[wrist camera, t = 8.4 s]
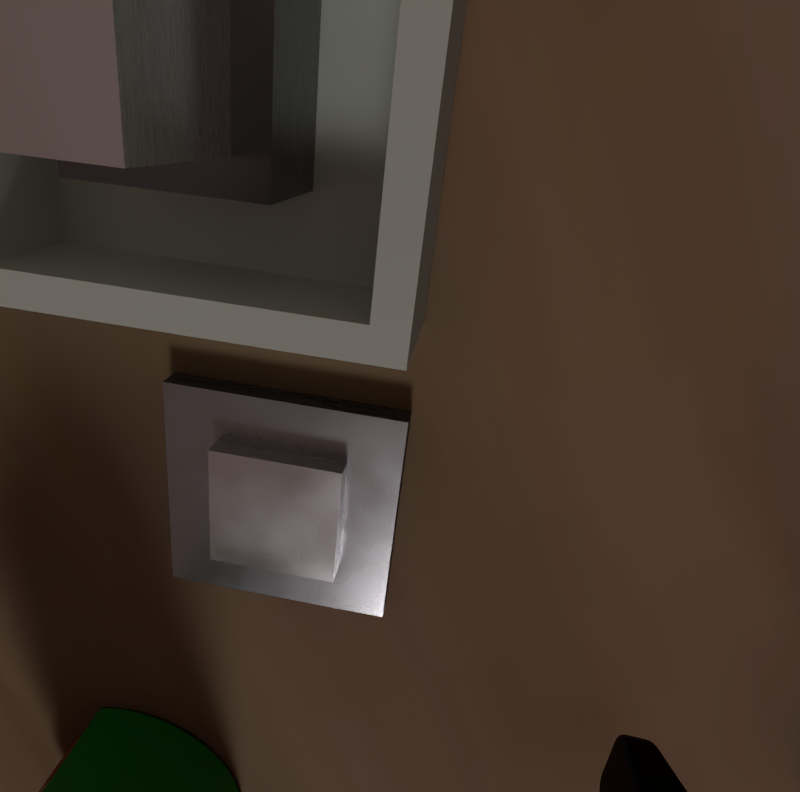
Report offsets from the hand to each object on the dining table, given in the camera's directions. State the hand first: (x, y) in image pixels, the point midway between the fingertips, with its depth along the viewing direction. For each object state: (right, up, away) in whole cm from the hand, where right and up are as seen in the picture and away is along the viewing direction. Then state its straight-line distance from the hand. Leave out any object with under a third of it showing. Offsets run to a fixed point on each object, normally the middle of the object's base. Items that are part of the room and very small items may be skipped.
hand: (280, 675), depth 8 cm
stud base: (-2, 0, +13) cm, 13 cm away
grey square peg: (-3, +12, +8) cm, 15 cm away
